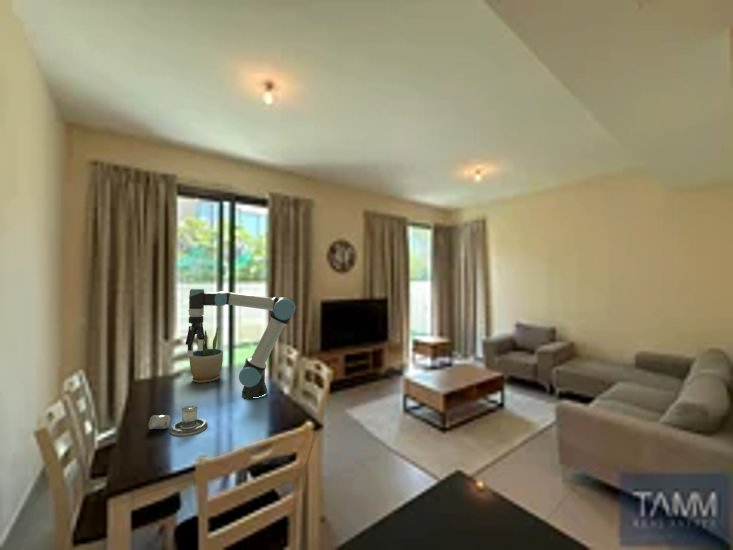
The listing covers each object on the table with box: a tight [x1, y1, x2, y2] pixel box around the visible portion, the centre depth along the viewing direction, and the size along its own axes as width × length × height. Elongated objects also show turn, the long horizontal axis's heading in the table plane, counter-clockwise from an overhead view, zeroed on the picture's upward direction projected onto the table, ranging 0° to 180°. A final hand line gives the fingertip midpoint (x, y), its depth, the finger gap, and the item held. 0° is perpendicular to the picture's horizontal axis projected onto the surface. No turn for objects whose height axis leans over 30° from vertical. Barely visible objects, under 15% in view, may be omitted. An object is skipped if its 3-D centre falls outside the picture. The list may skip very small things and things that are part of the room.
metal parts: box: [148, 414, 209, 437], centre depth 165 cm, size 25×16×6 cm, turn 95°
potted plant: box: [188, 324, 224, 384], centre depth 240 cm, size 21×22×40 cm
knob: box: [181, 404, 199, 430], centre depth 166 cm, size 7×7×9 cm
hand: (195, 353), depth 196 cm, fingers open, 13 cm apart
